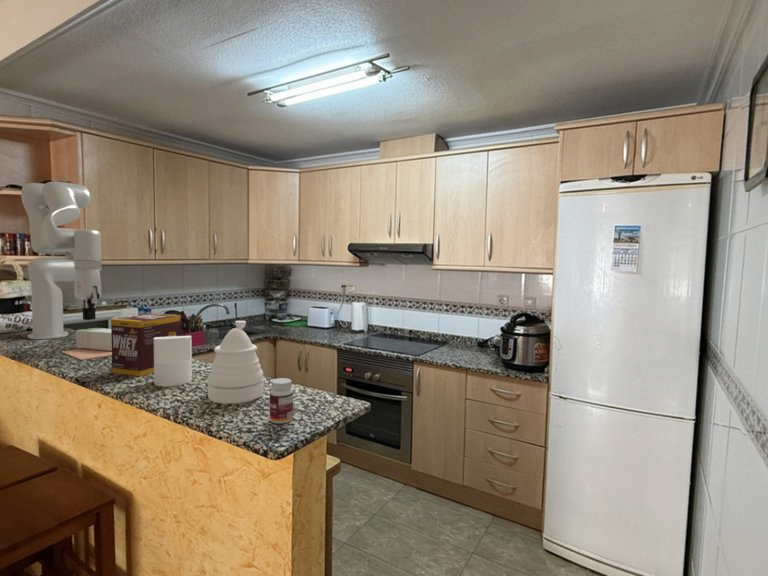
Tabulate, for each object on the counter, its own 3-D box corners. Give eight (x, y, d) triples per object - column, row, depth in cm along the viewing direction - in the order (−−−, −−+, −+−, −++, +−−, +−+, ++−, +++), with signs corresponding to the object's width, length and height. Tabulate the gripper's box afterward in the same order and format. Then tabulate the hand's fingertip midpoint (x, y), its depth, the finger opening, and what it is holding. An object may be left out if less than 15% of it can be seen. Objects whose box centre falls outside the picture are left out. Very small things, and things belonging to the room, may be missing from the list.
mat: (61, 352, 140) (61, 351, 140) (104, 346, 151) (104, 345, 151) (81, 360, 130) (81, 359, 130) (126, 353, 141) (126, 352, 141)
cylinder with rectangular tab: (191, 375, 118) (191, 333, 117) (191, 384, 109) (191, 339, 109) (155, 378, 114) (155, 335, 113) (152, 387, 106) (152, 341, 105)
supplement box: (110, 373, 118) (109, 318, 117) (155, 361, 132) (154, 312, 131) (139, 377, 115) (138, 321, 114) (181, 364, 129) (181, 314, 128)
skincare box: (96, 327, 152) (132, 329, 149) (95, 345, 152) (132, 347, 149) (74, 330, 143) (113, 332, 140) (74, 349, 144) (113, 351, 141)
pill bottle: (266, 417, 88) (267, 379, 87) (288, 414, 90) (288, 376, 90) (273, 425, 84) (273, 385, 83) (295, 421, 86) (296, 382, 86)
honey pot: (226, 384, 110) (226, 317, 109) (271, 388, 108) (272, 320, 106) (196, 400, 97) (196, 325, 96) (247, 405, 95) (247, 328, 94)
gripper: (66, 265, 142) (67, 318, 143) (84, 266, 133) (85, 323, 134) (91, 265, 148) (92, 316, 149) (110, 266, 139) (111, 320, 140)
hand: (89, 319), depth 142 cm, fingers closed
